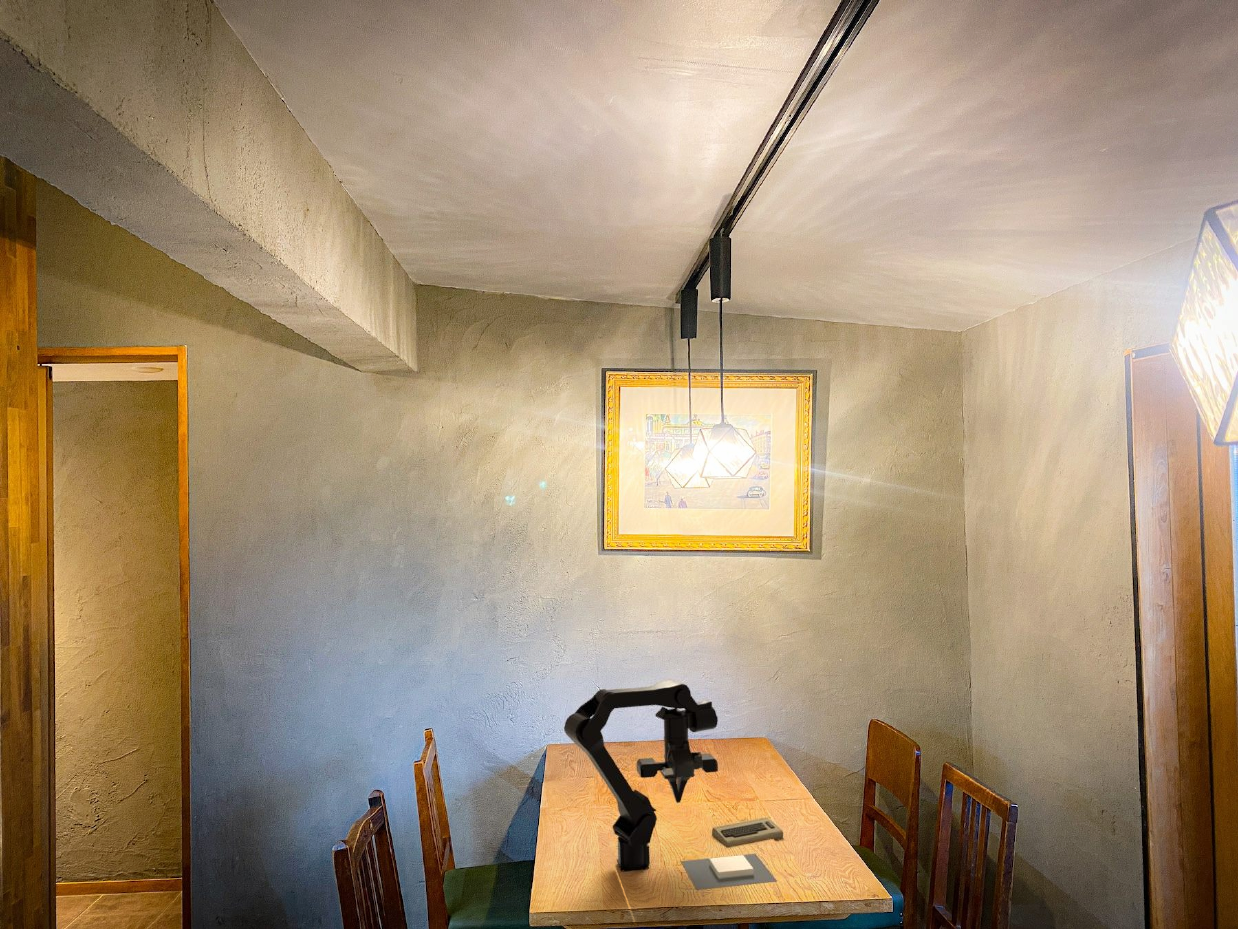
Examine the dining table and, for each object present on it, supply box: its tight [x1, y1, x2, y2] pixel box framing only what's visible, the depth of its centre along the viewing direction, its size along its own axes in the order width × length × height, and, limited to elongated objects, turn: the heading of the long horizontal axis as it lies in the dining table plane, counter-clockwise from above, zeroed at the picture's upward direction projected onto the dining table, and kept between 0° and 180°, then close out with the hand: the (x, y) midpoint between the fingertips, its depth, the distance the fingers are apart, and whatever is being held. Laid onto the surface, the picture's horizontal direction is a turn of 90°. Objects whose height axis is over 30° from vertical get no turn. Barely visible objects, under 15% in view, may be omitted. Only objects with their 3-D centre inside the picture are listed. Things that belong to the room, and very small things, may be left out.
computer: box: [711, 817, 784, 847], centre depth 193 cm, size 16×8×3 cm, turn 111°
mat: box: [680, 853, 778, 891], centre depth 174 cm, size 18×14×1 cm
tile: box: [709, 854, 754, 879], centre depth 174 cm, size 2×7×8 cm
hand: (678, 802), depth 185 cm, fingers closed
